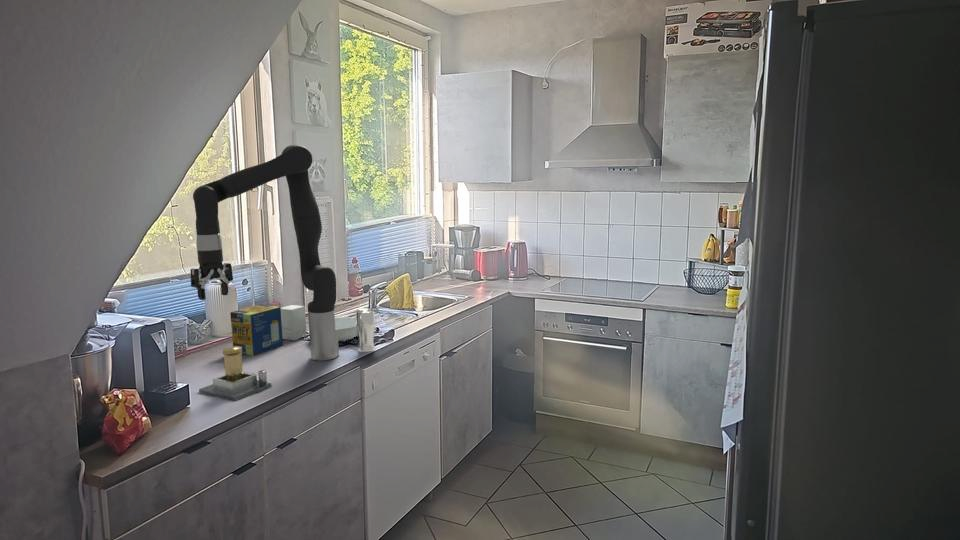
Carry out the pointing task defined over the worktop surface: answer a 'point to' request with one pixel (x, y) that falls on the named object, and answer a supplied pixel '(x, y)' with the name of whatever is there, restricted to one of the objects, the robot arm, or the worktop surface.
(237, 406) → the worktop surface
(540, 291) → the worktop surface
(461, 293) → the worktop surface
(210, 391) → the socket plate
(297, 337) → the supplement box
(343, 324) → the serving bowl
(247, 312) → the protein box
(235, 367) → the gold metal cylinder
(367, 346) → the beer glass
